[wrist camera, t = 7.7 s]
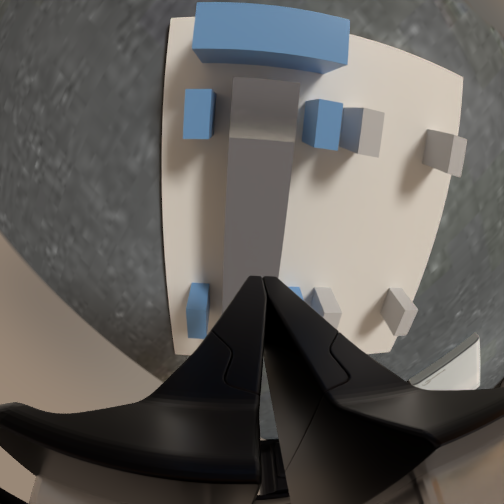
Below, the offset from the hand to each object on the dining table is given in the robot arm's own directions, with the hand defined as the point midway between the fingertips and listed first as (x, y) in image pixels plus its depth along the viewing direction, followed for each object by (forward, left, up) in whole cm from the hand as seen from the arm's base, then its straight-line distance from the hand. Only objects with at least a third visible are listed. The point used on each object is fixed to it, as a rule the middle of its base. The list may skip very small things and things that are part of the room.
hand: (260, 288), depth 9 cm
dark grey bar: (0, 0, -6) cm, 6 cm away
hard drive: (-17, -23, -7) cm, 30 cm away
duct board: (0, -3, -7) cm, 7 cm away
